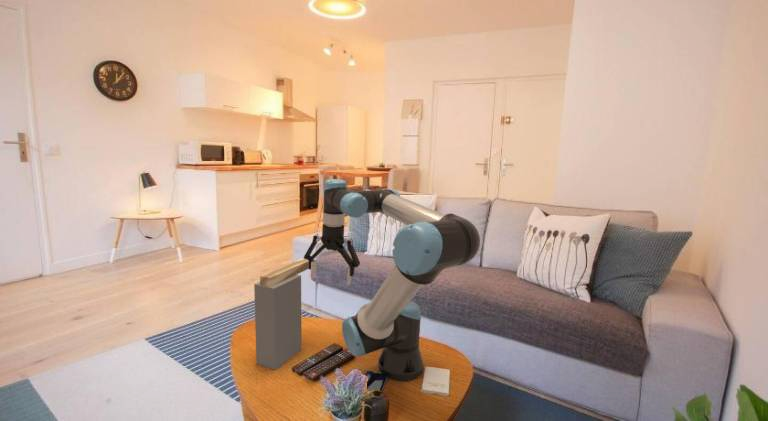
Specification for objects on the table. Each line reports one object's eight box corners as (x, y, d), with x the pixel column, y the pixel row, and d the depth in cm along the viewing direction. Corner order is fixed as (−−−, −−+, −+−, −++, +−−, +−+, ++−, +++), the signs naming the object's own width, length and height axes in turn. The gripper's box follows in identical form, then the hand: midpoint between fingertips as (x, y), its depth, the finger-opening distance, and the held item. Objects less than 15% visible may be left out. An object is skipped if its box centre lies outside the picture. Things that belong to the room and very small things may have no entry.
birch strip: (310, 267, 138) (310, 260, 138) (269, 287, 118) (269, 277, 118) (301, 266, 140) (301, 258, 139) (260, 284, 120) (259, 275, 120)
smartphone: (352, 400, 108) (366, 370, 122) (352, 403, 108) (366, 372, 122) (376, 405, 106) (388, 373, 120) (376, 408, 106) (388, 376, 121)
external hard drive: (449, 374, 124) (448, 398, 112) (424, 370, 125) (421, 393, 113) (450, 369, 123) (448, 393, 111) (425, 366, 125) (421, 388, 113)
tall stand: (301, 349, 134) (301, 275, 130) (275, 370, 122) (273, 288, 117) (283, 344, 138) (282, 271, 133) (256, 363, 125) (254, 284, 120)
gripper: (371, 226, 130) (367, 282, 135) (304, 217, 135) (302, 271, 140) (365, 231, 123) (361, 290, 128) (295, 221, 128) (293, 279, 133)
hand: (330, 280), depth 134 cm, fingers open, 13 cm apart
